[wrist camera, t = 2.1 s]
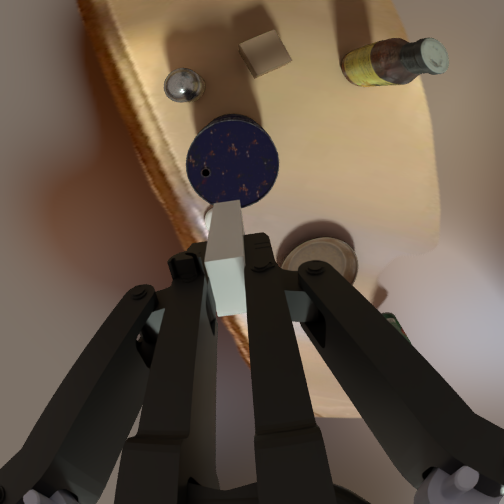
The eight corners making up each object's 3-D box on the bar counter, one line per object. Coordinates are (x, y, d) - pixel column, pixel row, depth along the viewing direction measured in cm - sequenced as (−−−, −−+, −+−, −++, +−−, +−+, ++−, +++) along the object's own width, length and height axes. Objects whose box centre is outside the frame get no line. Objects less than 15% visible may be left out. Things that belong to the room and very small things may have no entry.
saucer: (273, 238, 51) (275, 245, 48) (354, 225, 50) (360, 232, 48) (281, 304, 58) (283, 313, 56) (352, 291, 58) (356, 299, 55)
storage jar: (257, 106, 40) (269, 108, 27) (272, 167, 44) (288, 197, 31) (192, 123, 40) (172, 134, 27) (209, 182, 45) (200, 219, 32)
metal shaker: (172, 76, 36) (157, 71, 29) (203, 70, 36) (195, 63, 29) (177, 104, 39) (163, 106, 31) (207, 98, 39) (200, 98, 31)
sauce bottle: (356, 94, 39) (431, 99, 22) (331, 63, 37) (396, 46, 19) (383, 73, 37) (464, 70, 20) (359, 42, 35) (434, 20, 17)
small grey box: (238, 51, 35) (239, 43, 30) (269, 38, 34) (274, 29, 29) (254, 78, 38) (257, 75, 32) (284, 65, 37) (292, 60, 31)
